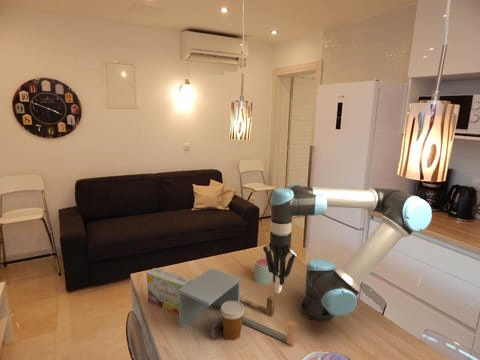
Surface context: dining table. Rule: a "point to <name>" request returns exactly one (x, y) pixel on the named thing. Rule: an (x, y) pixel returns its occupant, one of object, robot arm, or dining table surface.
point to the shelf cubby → (206, 293)
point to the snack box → (165, 289)
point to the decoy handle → (267, 311)
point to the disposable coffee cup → (232, 319)
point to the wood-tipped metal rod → (286, 338)
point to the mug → (262, 272)
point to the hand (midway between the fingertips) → (278, 291)
